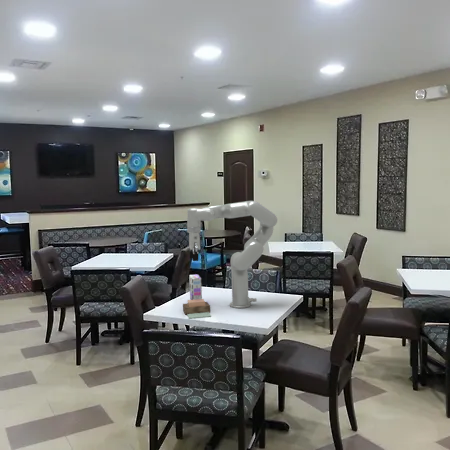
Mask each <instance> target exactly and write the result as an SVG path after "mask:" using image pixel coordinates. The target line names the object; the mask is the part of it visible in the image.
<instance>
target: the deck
mask: <svg viewBox="0 0 450 450" xmlns="http://www.w3.org/2000/svg"><path fill="white" fill-rule="evenodd" d="M182 311H183V313H184V315H185V316H188V315H187V314H194V313H205V312H209V314H211V305H210V304H209V302H208V301H205V306H195V307H189V306H188V302H187V303H182Z"/></svg>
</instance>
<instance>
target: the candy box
mask: <svg viewBox="0 0 450 450" xmlns="http://www.w3.org/2000/svg"><path fill="white" fill-rule="evenodd" d="M188 276H189V277H188V279H189V280H188V281H189V300H196V299H203V296H202V295H203V294H202V291H203V289H202V288H203V287H202V277H201V276H200V275H199V274H196V273H195V274H189V275H188Z"/></svg>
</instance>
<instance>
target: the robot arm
mask: <svg viewBox="0 0 450 450" xmlns="http://www.w3.org/2000/svg"><path fill="white" fill-rule="evenodd" d="M186 214H187V218H186V221H187V222H186V224H187V228H186V229H187V231H186V232H187V233H189V234H188V244H189V245H188V247H189V258H190V259H192V261H193V262H198V261H199V251H200V250H201V238H200V233H201V231H202V230H201V229H202V228H201V227H202V224H201V222H211V221H213V220H215V219H224V218H225V219H236V218H243V217H250V216H251V217H252V218H254V219H255V220H257V221H258V222H259V227H258V229H257V231H256V232H255V233H254V234H253V235H251V237H250V238H249V239H248V240H247V241H246V242H245V243H244V246H243V250H242V251H237V252H234V253H233V254H232V255H231V257H230V268H231V269H230V272H231V297H232V298H231V299H232V300H231V302H230V303H229V306H230V307H231V308H235V309H245V308H249V307H250V308H251V306H252V302H257V298H256V297H249V274H248V273H249V272H248V271H249V269H250V268H251V267H252V266H253V265H254V264H255V263H256V262H257V260H258V259H260V258H261V256H262V255H263V253H264V251H265V249H264V246H265V245H266V244H267V243H268V241H269V240H270V239H271V237H272V236H273V233H274V227H275V226H276V225H277V223H278V217H277V215H276V214H275V213H274V212H272V211H271V210H270V209H268V208H267V207H265V206H264V205H263V204H261V203H260V202H258V201H255V200H246V201H238V202H233V203H232V202H231V203H226V204H221V205H220V204H219V205H212V206H206V207H203V208H198V207H197V208H196V207H195V208H194V207H191V208H188V209H187V213H186Z"/></svg>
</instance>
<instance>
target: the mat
mask: <svg viewBox="0 0 450 450" xmlns="http://www.w3.org/2000/svg"><path fill="white" fill-rule="evenodd" d="M186 316H187V317H188V319H189V320H190V319H201V318H202V319H203V318H211V317H212V315H211V313H209V312H205V313H194V314H187V315H186Z"/></svg>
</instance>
